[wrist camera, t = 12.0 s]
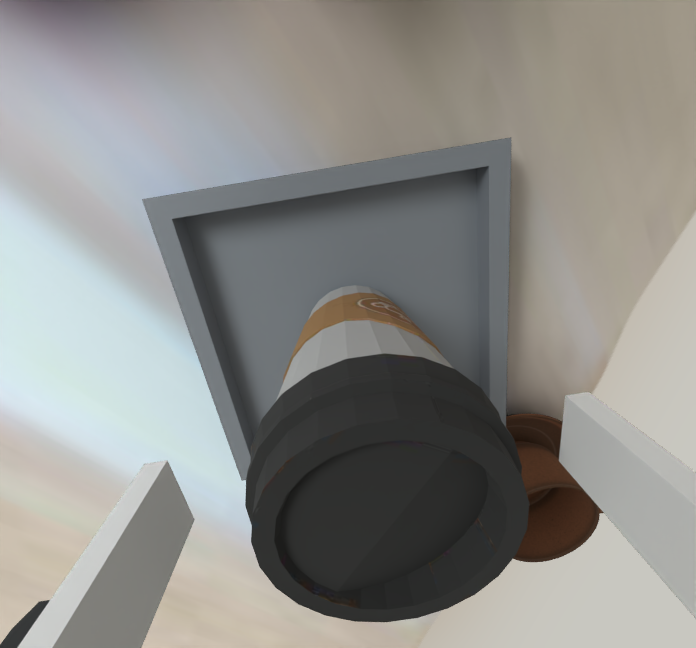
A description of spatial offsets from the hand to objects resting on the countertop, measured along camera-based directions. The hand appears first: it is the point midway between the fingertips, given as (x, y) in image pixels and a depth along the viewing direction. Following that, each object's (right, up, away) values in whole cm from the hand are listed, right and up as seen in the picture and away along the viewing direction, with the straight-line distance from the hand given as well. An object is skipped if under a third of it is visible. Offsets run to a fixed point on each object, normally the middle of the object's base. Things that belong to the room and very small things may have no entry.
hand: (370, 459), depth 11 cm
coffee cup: (0, +4, +12) cm, 13 cm away
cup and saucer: (+13, -7, +18) cm, 23 cm away
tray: (-1, +4, +12) cm, 13 cm away
